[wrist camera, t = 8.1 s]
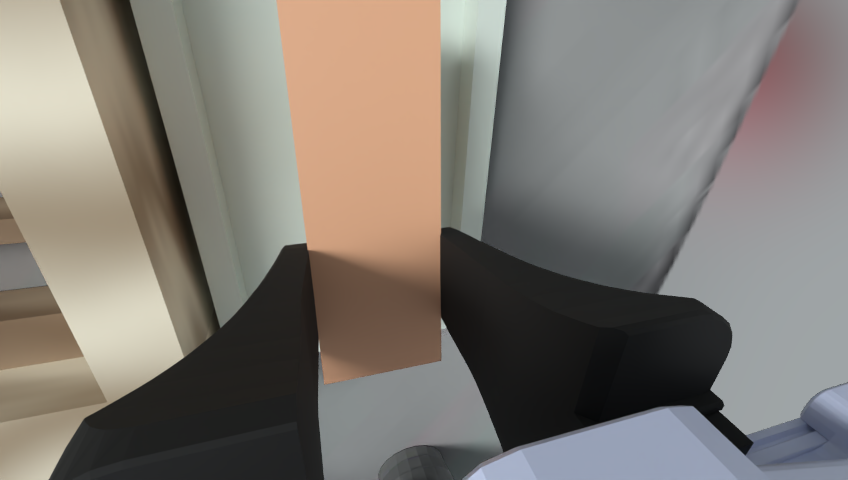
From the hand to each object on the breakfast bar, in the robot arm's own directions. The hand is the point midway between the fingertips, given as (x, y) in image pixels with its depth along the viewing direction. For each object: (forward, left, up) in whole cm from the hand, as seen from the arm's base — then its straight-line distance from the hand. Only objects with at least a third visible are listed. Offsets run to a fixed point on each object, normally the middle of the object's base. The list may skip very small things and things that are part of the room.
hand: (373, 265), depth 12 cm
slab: (+2, 0, -2) cm, 3 cm away
